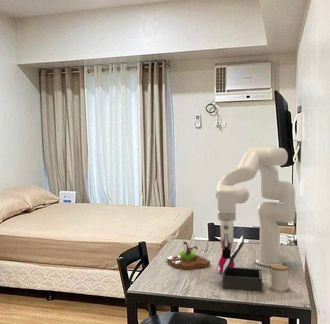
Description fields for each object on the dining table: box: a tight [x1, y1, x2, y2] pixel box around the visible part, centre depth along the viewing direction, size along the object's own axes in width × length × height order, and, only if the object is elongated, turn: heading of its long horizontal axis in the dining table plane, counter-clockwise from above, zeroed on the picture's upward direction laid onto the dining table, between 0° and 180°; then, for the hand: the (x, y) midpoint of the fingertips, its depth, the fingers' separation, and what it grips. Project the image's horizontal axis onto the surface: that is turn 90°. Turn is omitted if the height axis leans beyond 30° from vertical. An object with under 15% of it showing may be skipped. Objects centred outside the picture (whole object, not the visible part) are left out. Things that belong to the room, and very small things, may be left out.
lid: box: [221, 234, 245, 276], centre depth 209 cm, size 16×15×1 cm
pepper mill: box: [218, 237, 235, 274], centre depth 228 cm, size 7×7×20 cm
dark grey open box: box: [222, 266, 263, 293], centre depth 208 cm, size 16×15×6 cm
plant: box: [166, 241, 211, 271], centre depth 246 cm, size 20×20×11 cm
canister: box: [270, 264, 289, 292], centre depth 203 cm, size 7×7×10 cm
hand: (226, 257), depth 210 cm, fingers closed
